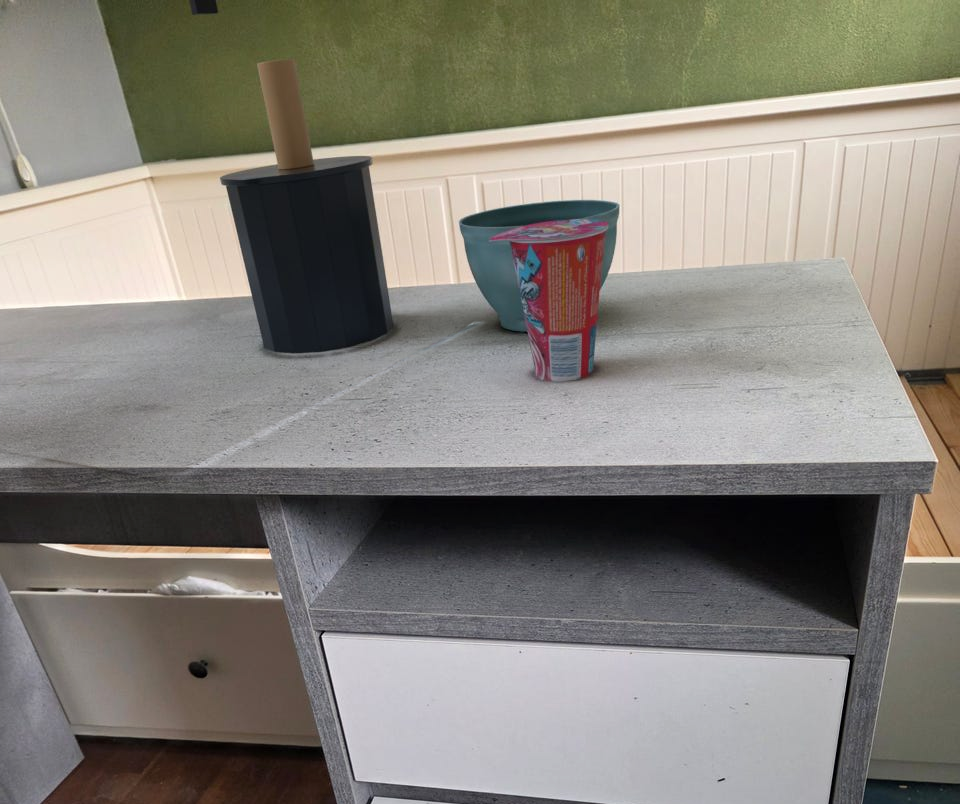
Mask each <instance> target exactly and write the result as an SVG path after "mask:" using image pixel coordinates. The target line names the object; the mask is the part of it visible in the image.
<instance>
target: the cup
mask: <svg viewBox="0 0 960 804" xmlns="http://www.w3.org/2000/svg"><path fill="white" fill-rule="evenodd" d="M607 229H608V222H606V221H603V220H596V219H572V220H558V221H549V222H542V223H536V224H530V225H526V226H522V227H518V228H515V229H512V230H509V231H506V232H503V233H500V234H498V235H495V236H493V237H492V238H490V240H489V241H496V240H509V241H510V246H511V251H512V256H513V261H514V266H515V271H516V276H517V281H518V286H519V291H520V296H521V301H522V306H523V311H524V316H525V321H526V326H527V331H528V332H527V336H528V342H529V346H530V352H531V357H532V363H533V365H534V366H533V368H534V372H535V377H536V378H538V379H539V380H542V381H546V382H556V383H557V382H570V381H575V380H579V379H583V378H586V377H588V376H590V375H591V374H592V373H593V372H594V361H595V351H596V337H597V327H598V315H599V303H600V294H601V293H600V292H601V290H600V283H601V273H602V263H603V253H604V242H605V232H606V230H607Z"/></svg>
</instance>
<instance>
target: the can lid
mask: <svg viewBox="0 0 960 804" xmlns="http://www.w3.org/2000/svg"><path fill="white" fill-rule="evenodd" d="M256 66H257V70H258V76H259V81H260V86H261V89H262V90H261V91H262V95H263V100H264V105H265V110H266V116H267V120H268V124H269V129H270V135H271V139H272V144H273V149H274V154H275V159H276V163H277V164H271V165H270V164H269V165H264V166H258V167H253V168H248V169H243V170H239V171H236V172H235V171H234V172H230V173H227V174H224V175H222V176H220V177H219V180H220V184H221V185H222V186H223V187H224V186H225V187H226V186H249V185H262V184H272V183H281V182H289V181H297V180H304V179H311V178H317V177H324V176H329V175H335V174H340V173H345V172H350V171H354V170H359V169H362V168H366V167H368V166H369V167H371V166H373V163H374V162H373V157H372V156H369V155H348V156H347V155H346V156H345V155H344V156H335V157H326V158H325V157H321V158H313V157H314V156H313V151H312V146H311V141H310V134H309V130H308V124H307V119H306V114H305V107H304V103H303V98H302V92H301V91H302V90H301V86H300V82H299V76H298V71H297V65H296V60H295V59H294V58H287V59H285V58H284V59H278V60H277V59H276V60H269V61H263V62H262V61H261V62H257V63H256Z"/></svg>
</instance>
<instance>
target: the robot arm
mask: <svg viewBox="0 0 960 804" xmlns="http://www.w3.org/2000/svg"><path fill="white" fill-rule="evenodd" d="M188 1H189V7H190V11H191V15H193V16H196V15H216V14H219V8H218V5H217V0H188Z"/></svg>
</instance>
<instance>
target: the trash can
mask: <svg viewBox="0 0 960 804" xmlns="http://www.w3.org/2000/svg"><path fill="white" fill-rule="evenodd" d="M371 177H372V176H371V172H370V166H368V167H366V168H362V169H359V170H354V171H350V172H345V173H340V174H335V175H329V176H324V177H317V178H311V179H304V180H297V181H289V182H281V183H272V184H262V185H249V186H225V188H226V192H227V196H228V201H229V204H230V209H231V213H232V218H233V221H234V227H235V230H236V235H237V238H238V244H239V247H240V252H241V256H242V260H243V264H244V268H245V273H246V276H247V282H248V286H249V289H250V294H251V298H252V302H253V303H252V304H253V308H254V311H255V314H256V319H257V324H258V327H259V332H260V336H261V340H262V344H263V345H262V346H263V349H266V350H268V351H271V352H273V353H280V354H292V355H293V354H296V355H297V354H312V353H313V354H314V353H324V352H329V351H335V350H340V349H347V348H351V347H354V346H358V345H362V344H365V343H369V342H373V341H374V340H377V339H379V338H381V337H383V336H385V335H387V334H388V333H389V332H390V331H391V330H392V329H393V328H394V320H393V319H394V318H393V312H392V307H391V300H390V293H389V287H388V281H387V276H386V275H387V274H386V268H385V262H384V256H383V250H382V249H383V248H382V242H381V237H380V229H379V224H378V223H379V222H378V217H377V210H376V204H375V197H374V191H373V185H372V178H371Z"/></svg>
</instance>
